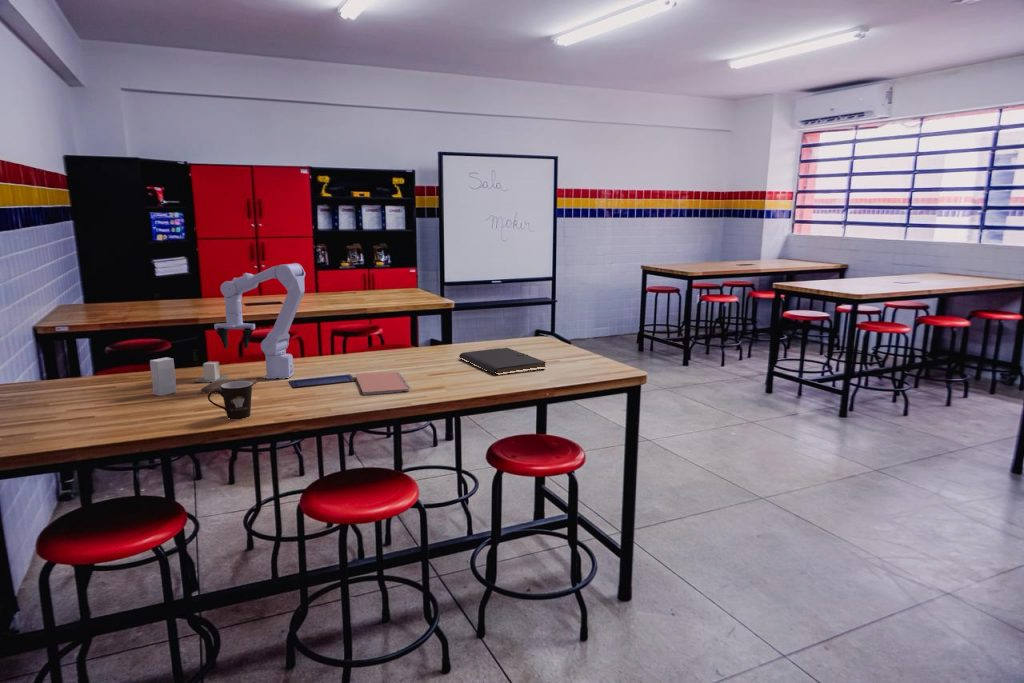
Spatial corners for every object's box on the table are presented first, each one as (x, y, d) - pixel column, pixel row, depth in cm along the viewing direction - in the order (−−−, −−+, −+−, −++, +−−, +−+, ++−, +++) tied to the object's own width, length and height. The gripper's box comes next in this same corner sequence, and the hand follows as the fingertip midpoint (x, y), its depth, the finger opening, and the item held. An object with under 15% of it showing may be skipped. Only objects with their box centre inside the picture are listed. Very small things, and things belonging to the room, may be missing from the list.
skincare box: (170, 390, 216) (166, 356, 214) (177, 392, 214) (174, 358, 212) (152, 394, 211) (149, 360, 209) (159, 396, 209) (156, 361, 207)
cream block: (220, 377, 234) (218, 361, 233) (215, 379, 230) (214, 364, 229) (209, 377, 233) (207, 361, 232) (204, 379, 230) (203, 363, 228)
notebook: (412, 393, 219) (411, 387, 219) (363, 397, 214) (363, 391, 213) (399, 375, 244) (399, 370, 244) (355, 378, 239) (355, 373, 239)
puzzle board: (256, 383, 227) (256, 379, 227) (243, 393, 215) (242, 388, 214) (217, 383, 227) (217, 379, 226) (201, 393, 214) (201, 388, 214)
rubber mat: (229, 376, 236) (229, 375, 236) (219, 382, 228) (219, 381, 228) (205, 376, 236) (205, 375, 236) (194, 382, 227) (194, 381, 227)
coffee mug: (258, 412, 193) (256, 381, 191) (247, 420, 185) (245, 388, 183) (220, 412, 193) (218, 380, 191) (208, 420, 184) (205, 388, 183)
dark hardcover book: (546, 361, 255) (494, 367, 243) (546, 370, 256) (494, 378, 244) (507, 346, 283) (459, 352, 271) (507, 355, 284) (459, 361, 272)
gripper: (209, 313, 232) (212, 349, 235) (249, 314, 233) (251, 349, 235) (217, 311, 239) (220, 346, 242) (256, 311, 240) (258, 346, 242)
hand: (236, 347), depth 239 cm, fingers open, 7 cm apart
